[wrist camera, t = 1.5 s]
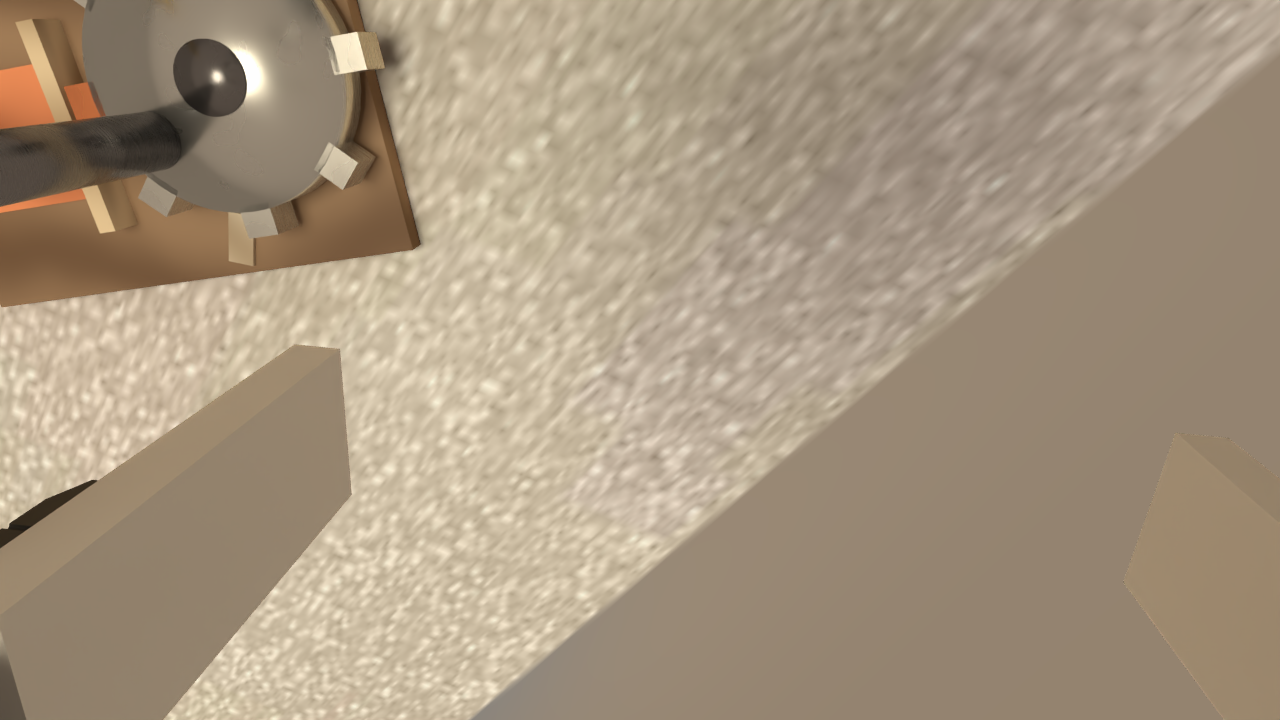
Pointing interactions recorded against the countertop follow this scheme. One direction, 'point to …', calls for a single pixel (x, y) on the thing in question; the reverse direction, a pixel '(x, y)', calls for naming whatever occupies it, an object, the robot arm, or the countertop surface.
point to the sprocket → (205, 108)
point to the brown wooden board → (137, 233)
